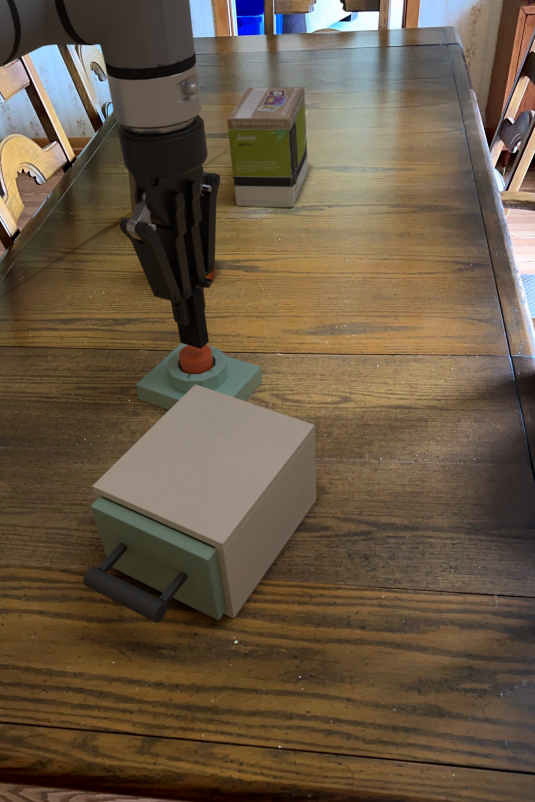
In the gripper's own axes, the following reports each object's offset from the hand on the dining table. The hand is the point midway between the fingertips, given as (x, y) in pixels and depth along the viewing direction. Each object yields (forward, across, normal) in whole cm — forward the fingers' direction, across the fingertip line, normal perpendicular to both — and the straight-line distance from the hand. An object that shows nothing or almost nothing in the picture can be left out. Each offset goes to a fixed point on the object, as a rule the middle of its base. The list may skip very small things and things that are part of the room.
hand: (194, 342), depth 77 cm
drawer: (+6, -20, -13) cm, 24 cm away
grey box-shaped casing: (+7, -16, -13) cm, 22 cm away
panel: (+7, 0, 0) cm, 7 cm away
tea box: (+7, +51, +20) cm, 55 cm away
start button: (+3, 0, 0) cm, 3 cm away
